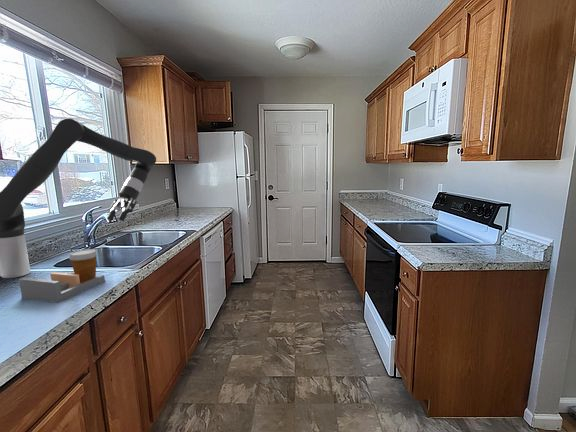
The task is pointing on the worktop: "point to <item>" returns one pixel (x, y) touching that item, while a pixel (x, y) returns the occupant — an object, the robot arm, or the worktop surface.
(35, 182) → the robot arm
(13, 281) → the worktop surface
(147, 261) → the worktop surface
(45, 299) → the grey shallow tray
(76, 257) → the disposable coffee cup
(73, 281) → the pusher plate
